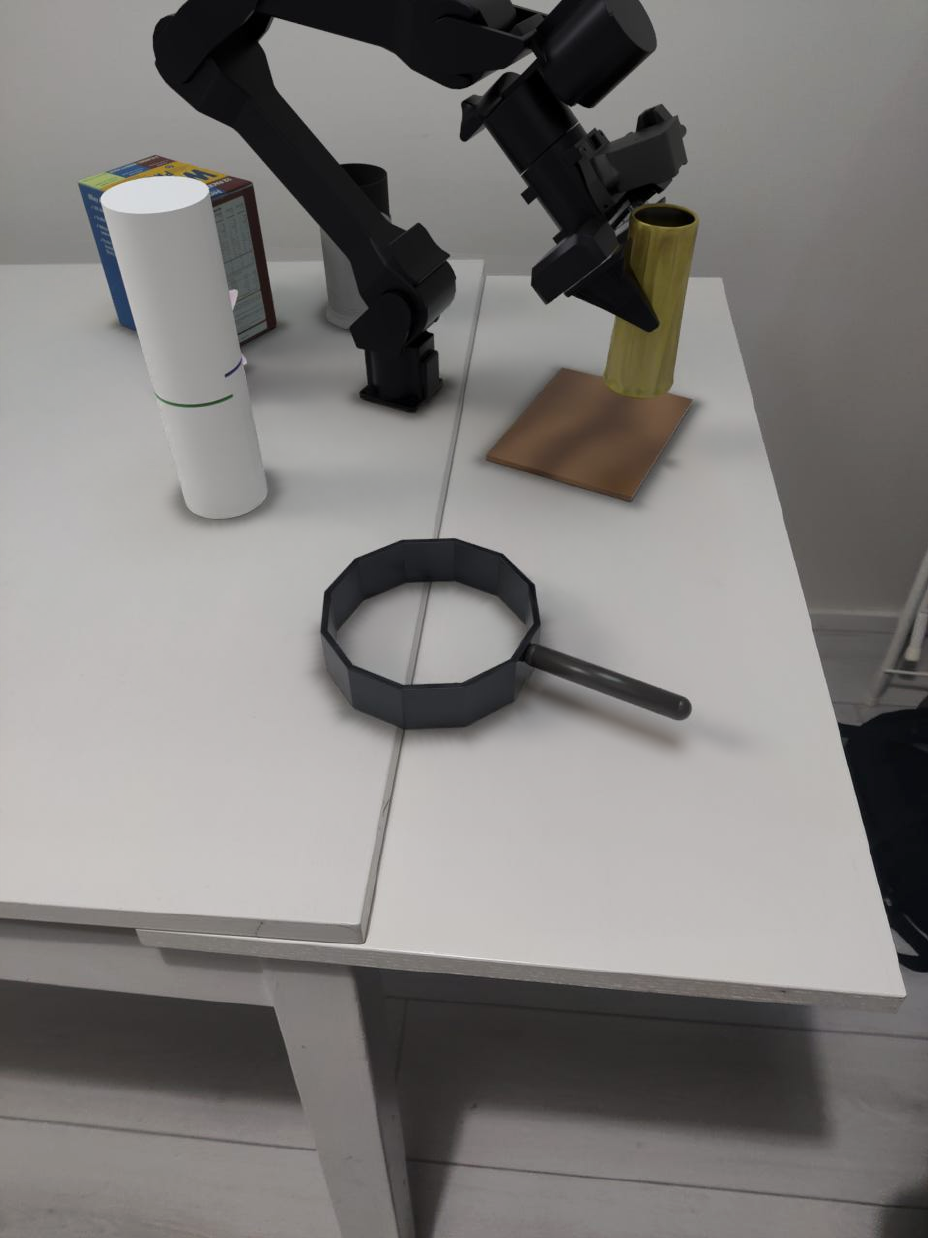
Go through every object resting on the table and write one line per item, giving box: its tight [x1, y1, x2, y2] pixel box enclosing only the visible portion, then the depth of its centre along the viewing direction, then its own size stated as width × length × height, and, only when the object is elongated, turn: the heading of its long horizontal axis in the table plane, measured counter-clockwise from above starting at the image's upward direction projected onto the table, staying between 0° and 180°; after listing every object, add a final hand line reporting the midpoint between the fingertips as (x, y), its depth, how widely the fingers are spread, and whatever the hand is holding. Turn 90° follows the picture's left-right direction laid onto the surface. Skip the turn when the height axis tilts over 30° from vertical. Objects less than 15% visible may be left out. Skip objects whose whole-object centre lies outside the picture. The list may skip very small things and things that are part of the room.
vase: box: [602, 202, 700, 399], centre depth 72 cm, size 6×6×14 cm
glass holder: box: [318, 162, 393, 330], centre depth 98 cm, size 9×14×15 cm, turn 24°
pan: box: [319, 537, 693, 730], centre depth 60 cm, size 26×15×4 cm, turn 63°
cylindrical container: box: [100, 176, 269, 520], centre depth 68 cm, size 7×7×25 cm
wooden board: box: [485, 367, 694, 502], centre depth 83 cm, size 14×18×1 cm
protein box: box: [76, 154, 278, 346], centre depth 94 cm, size 10×15×16 cm
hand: (664, 314), depth 72 cm, fingers closed on vase, 5 cm apart
